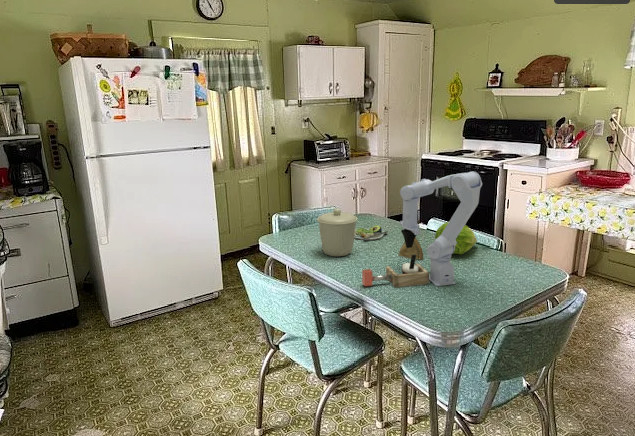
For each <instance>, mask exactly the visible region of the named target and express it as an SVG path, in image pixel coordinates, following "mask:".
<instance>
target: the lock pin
mask: <svg viewBox="0 0 635 436" xmlns="http://www.w3.org/2000/svg"><path fill="white" fill-rule="evenodd" d="M361 275H362V277H361V278H362V279H361V282H362V285H364V286H363V287H370V286H373V282H377V281H378V282H379V281H387V280H388V279H391V278H392V277H391V275H386V274H383V275H373V270H371V268H367V269H362V270H361ZM388 281H389V280H388Z"/></svg>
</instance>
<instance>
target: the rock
mask: <svg viewBox="0 0 635 436" xmlns="http://www.w3.org/2000/svg"><path fill="white" fill-rule="evenodd" d="M416 237H417V236H416ZM416 237H415V239H414V242H413V246H412V248H407V247H406V244H405V241H404V242H403V243H402V246H401V247H400V250H399V251H398V256H401V257H403V258H408V259H411V256H412V255H416V259H415V260H424V252H423V248H422V246H421V243H420V242H419V240H418V239H417V238H416Z"/></svg>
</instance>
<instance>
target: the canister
mask: <svg viewBox="0 0 635 436" xmlns="http://www.w3.org/2000/svg"><path fill="white" fill-rule="evenodd" d="M316 220H317V222H318V225H319V226H318V227H319V234H320V242H321V243H320V244H321V248H322V251H323V252H324V254H325V255H327V256H330V257H345V256H348V255H349V254H351V252H352V251H353V248H354V241H355V238H354V235H355V229H356V224H357V221H358V217H357V216H355V215H354V214H352V213H350V212H343V211H342V210H341V208H334V209H333V210H332V211H331V212H325V213H323V214H321V215H320V216H318V217H317V218H316Z"/></svg>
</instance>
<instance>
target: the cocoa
mask: <svg viewBox="0 0 635 436" xmlns="http://www.w3.org/2000/svg"><path fill="white" fill-rule="evenodd" d="M416 260H417V259H416V255H412V256H411V258H410V262H406V263H403V264H402V271H401V274H409V273H418V269H419V268H418V266H416V265H415V264H416Z"/></svg>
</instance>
